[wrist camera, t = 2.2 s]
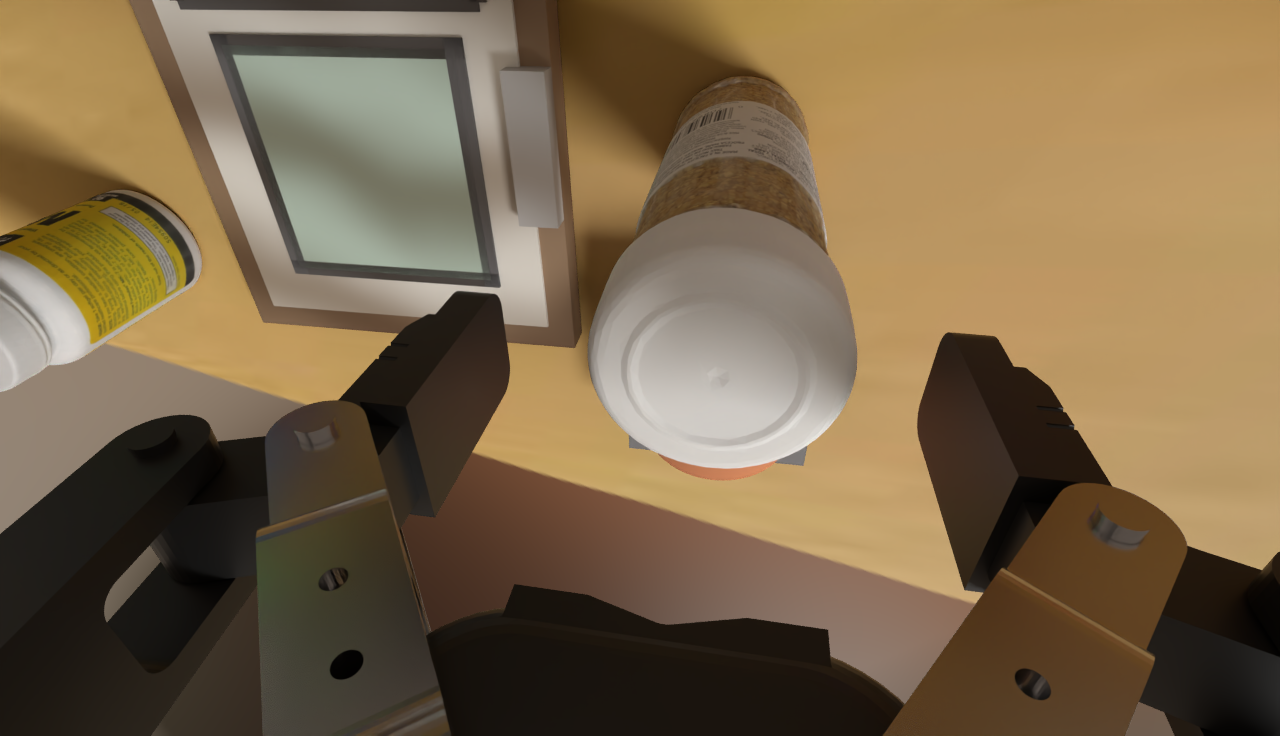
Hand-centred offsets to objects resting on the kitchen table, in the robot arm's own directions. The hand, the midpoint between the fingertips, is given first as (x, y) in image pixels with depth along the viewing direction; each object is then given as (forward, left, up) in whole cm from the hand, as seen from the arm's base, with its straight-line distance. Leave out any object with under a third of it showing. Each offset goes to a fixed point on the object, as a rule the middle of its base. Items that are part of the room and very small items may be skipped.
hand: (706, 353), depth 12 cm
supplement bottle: (+5, -25, -12) cm, 28 cm away
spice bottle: (0, 0, -12) cm, 12 cm away
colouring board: (0, -13, -12) cm, 18 cm away
